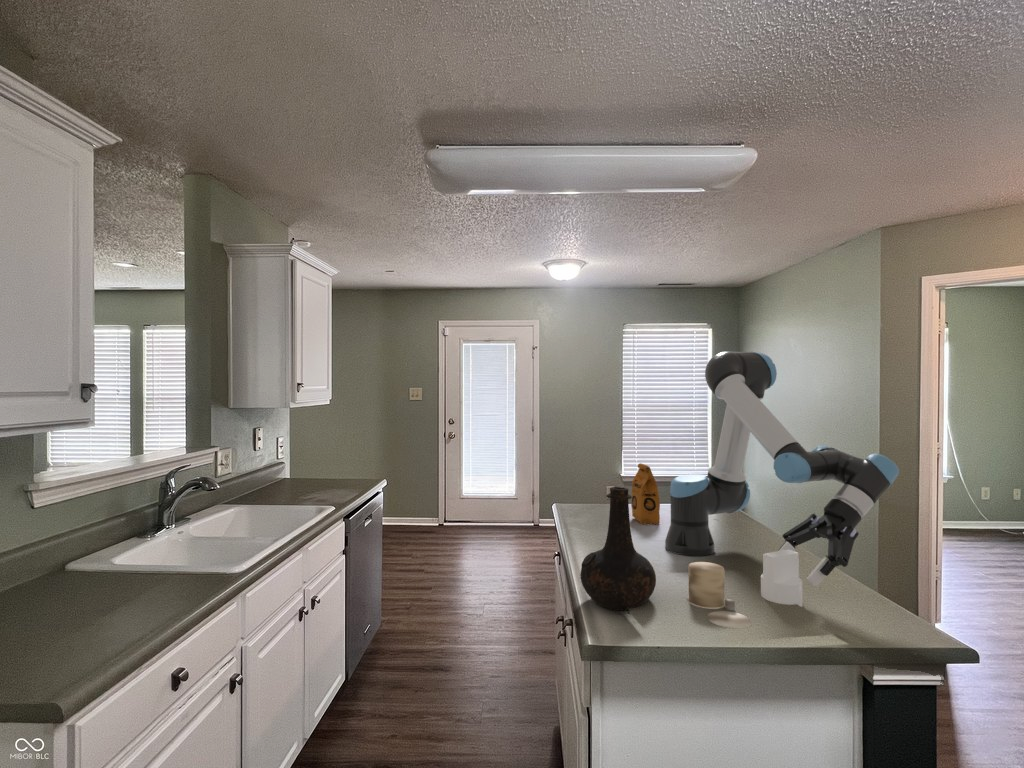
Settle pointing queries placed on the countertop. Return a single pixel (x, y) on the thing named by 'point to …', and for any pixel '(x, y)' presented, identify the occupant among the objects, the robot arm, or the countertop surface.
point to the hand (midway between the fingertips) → (791, 573)
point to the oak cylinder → (706, 584)
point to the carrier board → (727, 616)
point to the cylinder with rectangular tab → (781, 578)
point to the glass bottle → (618, 562)
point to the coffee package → (645, 497)
